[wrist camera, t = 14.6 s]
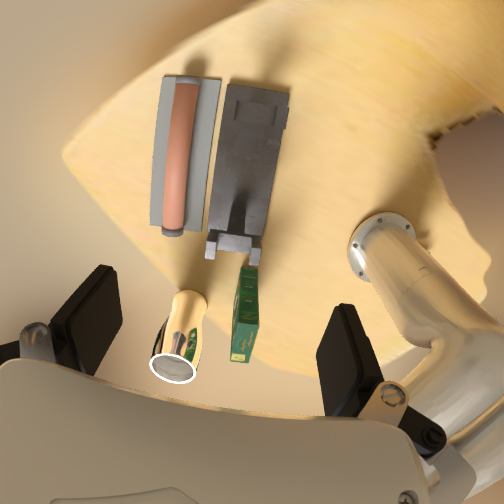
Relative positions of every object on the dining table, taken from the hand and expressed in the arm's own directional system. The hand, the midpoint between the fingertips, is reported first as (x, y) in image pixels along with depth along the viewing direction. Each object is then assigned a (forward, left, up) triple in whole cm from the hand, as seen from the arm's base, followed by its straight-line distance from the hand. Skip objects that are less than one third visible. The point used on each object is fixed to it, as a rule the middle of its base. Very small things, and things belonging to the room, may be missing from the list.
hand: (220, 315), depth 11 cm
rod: (+9, -1, -28) cm, 29 cm away
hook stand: (0, -1, -30) cm, 30 cm away
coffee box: (-3, +19, -30) cm, 36 cm away
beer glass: (+6, +24, -30) cm, 39 cm away
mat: (+9, -1, -30) cm, 31 cm away
